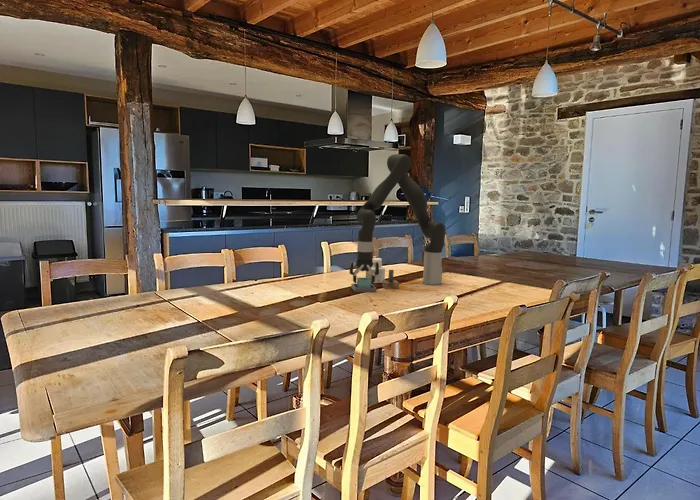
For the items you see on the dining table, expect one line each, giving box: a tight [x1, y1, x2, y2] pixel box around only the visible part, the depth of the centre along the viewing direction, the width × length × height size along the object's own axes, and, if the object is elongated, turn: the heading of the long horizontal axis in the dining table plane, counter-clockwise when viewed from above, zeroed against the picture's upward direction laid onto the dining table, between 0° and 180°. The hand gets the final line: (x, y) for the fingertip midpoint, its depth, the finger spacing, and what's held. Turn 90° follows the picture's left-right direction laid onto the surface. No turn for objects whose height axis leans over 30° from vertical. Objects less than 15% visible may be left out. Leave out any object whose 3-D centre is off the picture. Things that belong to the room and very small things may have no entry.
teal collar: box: [356, 277, 372, 288], centre depth 236 cm, size 6×6×5 cm
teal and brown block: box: [381, 269, 400, 290], centre depth 244 cm, size 7×7×9 cm
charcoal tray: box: [350, 283, 377, 293], centre depth 237 cm, size 11×11×2 cm
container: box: [365, 256, 386, 284], centre depth 257 cm, size 8×8×13 cm
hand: (363, 283), depth 236 cm, fingers open, 8 cm apart
